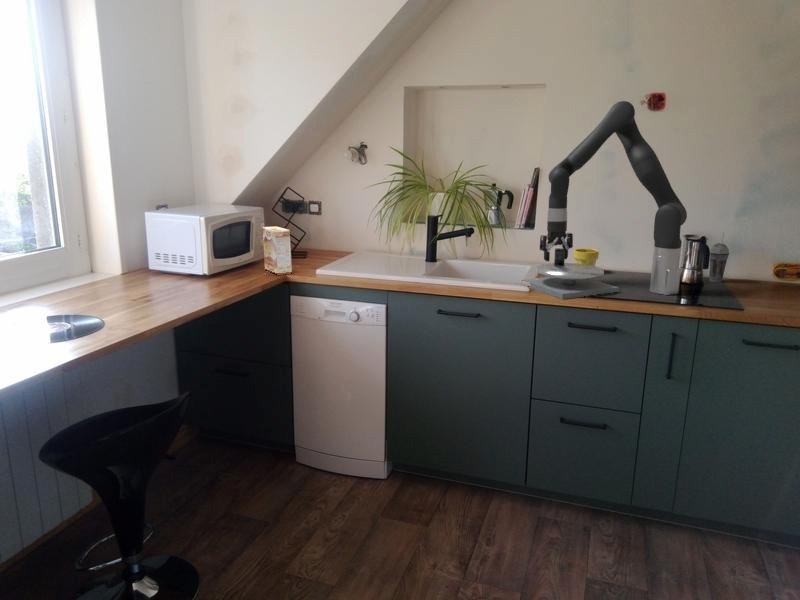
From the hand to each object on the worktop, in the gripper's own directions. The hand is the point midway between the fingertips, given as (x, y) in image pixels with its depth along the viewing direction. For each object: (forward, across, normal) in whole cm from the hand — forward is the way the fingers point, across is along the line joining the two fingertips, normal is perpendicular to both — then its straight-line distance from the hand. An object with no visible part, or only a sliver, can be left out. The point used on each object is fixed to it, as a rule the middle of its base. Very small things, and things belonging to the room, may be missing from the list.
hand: (555, 260), depth 241 cm
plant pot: (+10, -26, -13) cm, 31 cm away
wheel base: (+10, +1, +10) cm, 14 cm away
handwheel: (+3, +1, +10) cm, 11 cm away
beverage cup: (+11, -63, +22) cm, 68 cm away
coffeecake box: (+7, +98, -66) cm, 119 cm away
